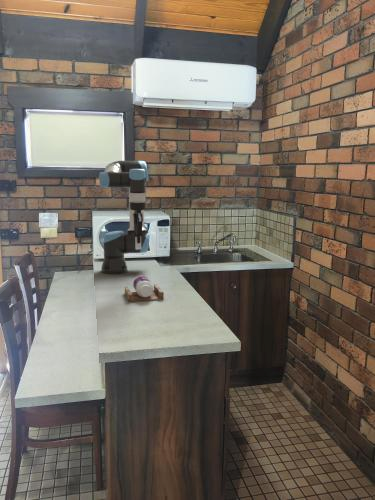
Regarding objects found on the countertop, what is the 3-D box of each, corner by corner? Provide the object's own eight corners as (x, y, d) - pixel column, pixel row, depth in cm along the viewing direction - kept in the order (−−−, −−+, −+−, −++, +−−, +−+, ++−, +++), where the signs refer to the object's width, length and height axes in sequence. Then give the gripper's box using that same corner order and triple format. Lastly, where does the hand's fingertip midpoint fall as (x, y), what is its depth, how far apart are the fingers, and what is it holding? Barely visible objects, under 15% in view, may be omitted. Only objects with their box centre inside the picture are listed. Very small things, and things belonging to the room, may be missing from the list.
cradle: (124, 293, 206) (124, 286, 206) (156, 291, 211) (156, 284, 210) (129, 302, 193) (129, 295, 192) (163, 299, 198) (163, 292, 197)
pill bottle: (152, 281, 210) (158, 290, 196) (141, 294, 210) (146, 303, 196) (140, 271, 207) (145, 279, 194) (129, 284, 207) (134, 292, 193)
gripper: (127, 200, 210) (128, 246, 215) (132, 203, 198) (133, 252, 203) (142, 199, 212) (143, 245, 217) (148, 202, 200) (148, 251, 205)
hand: (138, 249), depth 210 cm, fingers closed
